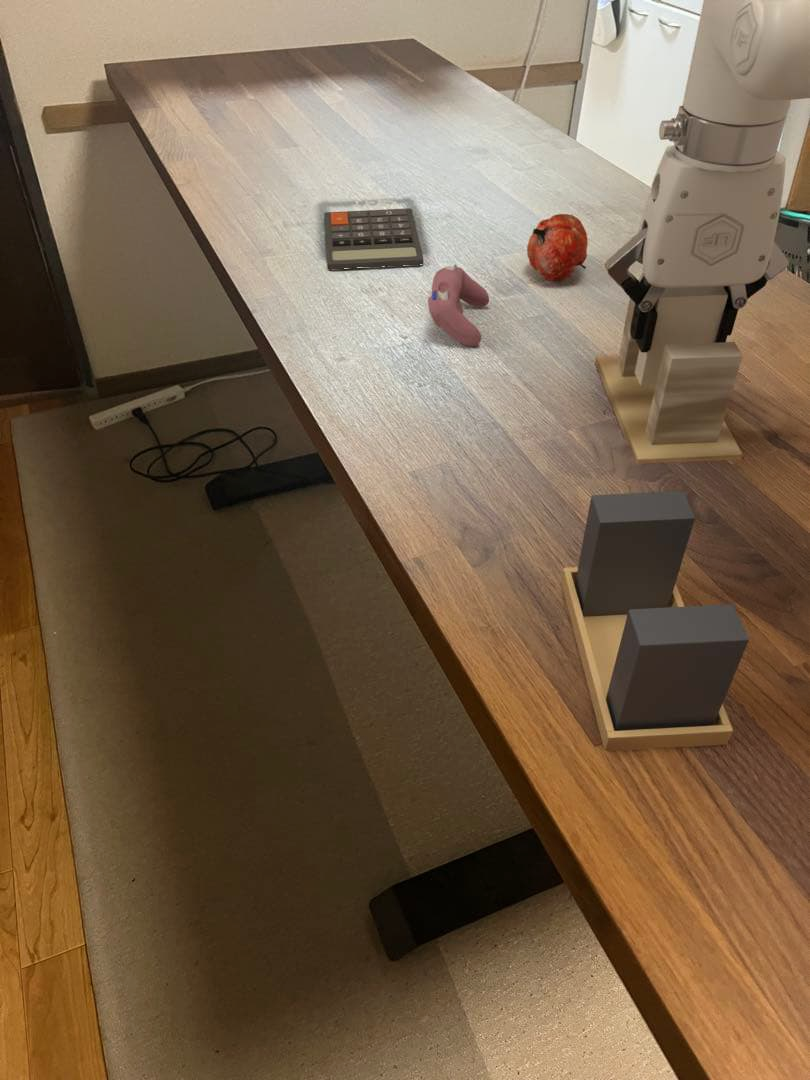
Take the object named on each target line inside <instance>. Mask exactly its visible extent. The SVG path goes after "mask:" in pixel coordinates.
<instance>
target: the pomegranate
mask: <svg viewBox="0 0 810 1080" xmlns="http://www.w3.org/2000/svg"><path fill="white" fill-rule="evenodd" d="M588 243H589V241H588V234H587V231H586V229H585V227H584V224H583V223H582V221H581V220H580V218H578V217H576V216H574V215H573V214H568V213H559V214H554V215H552V216H551V217H550V218H546V219H542V220H540V221H539V222H538V224H537V226H536V227H535V228H533V230H532V233H531V235H530V236H529V239H528V243H527V246H526V254H527V258H528V261H529V264H530V266H531V267H532V268H533V270H535V271H537V272H539V275H540V276H541V277H543V279H545V280H547V281H549V282H559V283H561V282H563V281H565V280H567V279H570V278H571V277H572V276H573V275H574V273H575V271H574V268H575V267H579V266H580V267H581V268H583V269H585V270H586V269H587V266H585V265H584V263H585V261H586V259H587V257H588V254H587V253H588V251H587V250H588Z"/></svg>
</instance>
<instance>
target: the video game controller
mask: <svg viewBox="0 0 810 1080" xmlns="http://www.w3.org/2000/svg"><path fill="white" fill-rule="evenodd" d="M431 285H432V286H431V296H429V297H428V299H427V306H428V311H429V314H430V316H431V319H432V321H433V323H434V324H435V325H436V327H437V328H440V329H441V330H442V331H444V332H445V333H446V334H447V335H448V336H449V337H450V338H452V339H454V340H455V341H456V342H458V343H460V344H462V345H464V346H468V347H476V346H478V345H479V344H480V343H481V341H482V334H481V331H480V330H479V329H478V327H477V326H476V325H475V324H474V323H473V322H471V321H470V320H469V319H468V318H467V317H465V315H464V307H463V304H462V302H464V303H465V304H469V305H470V306H472V307H477V308H485V307H487V306H488V304H489V303H490V296H489V294H488V292H487V290H486V289H485V288H484V287H483V286H482V285H481V284H480V283H478V282H477V281H475V280H474V279H473V278H471V277H470V276H469V274H468V273H467V272H466V271H464V269H463V268H462V267H458V265H457V264H454V265H453V266H450V265H447V266H444V267H443V268H441V269H438V270H437V271H436V273H435V274H434V276H433V279H432V283H431Z"/></svg>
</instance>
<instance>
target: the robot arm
mask: <svg viewBox="0 0 810 1080" xmlns="http://www.w3.org/2000/svg"><path fill="white" fill-rule="evenodd" d="M685 85H686V86H685V89H684V95H683V100H682V105H679V107H678V111H677V114H676V116H675V117H672V118H671V119H670V120H669V119H668V120H661V122H660V124H659V129H658V131H659V132H658V136H659V140H660V141H661V140H662V141H663V140H666V141H667V140H668V141H669V142H673V145H668V146H666V149H665V150H664V152H663V155H662V157H661V160H660V161H659V164H658V167H657V170H656V172H655V175H654V176H653V180H652V183H651V186H650V189H649V192H648V195H647V197H646V202H645V205H644V208H643V213H642V217H641V220H640V224H639V229H638V233H636V234H635V235H634V236H633V237H632V238H631V239H629V240H628V241H627V242H626V243H625V244H624V245H623V246H622V247H621V248H619V249H618V250H617V251H616V252H615V253H613V254H612V256H610V257H609V258H608V259H607V260H606V261H605V262H604V268H605V271H606V272H607V274H608V276H609V277H610V278H611V279H612V280H613V281H614V282H615V283H616V285H618V286H619V287H620V288H621V289H622V290H623V291H624V293H625V294H626V295H627V296H628V298H629V299H630V298H631V299H632V300H633V301H634V302H635V306H634V311H633V316H632V321H631V326H630V335H631V337H632V339H635V340H636V342H637V344H638V347H639V349H640V351H641V352H648V351H650V349H651V344H652V340H653V335H654V331H655V326H656V321H657V317H658V313H657V312H656V310H655V308H654V307H655V304H656V302H657V301H658V299H659V298H660V296H661V294H662V293H663V291H664V290H665V288H681V287H709V286H723V288H724V289H725V291H726V292H727V294H728V298H727V301H726V305H725V308H724V312H723V315H722V319H721V323H720V326H719V330H718V333H717V337H716V341H715V343H720V342H727V339H728V336H731V335H732V333H733V330H734V327H735V322H736V319H737V316H738V312H739V310H740V309H742V308H744V307H745V306H746V305H747V304H748V300H749V299H750V298H751V297H753V296H754V295H755V294H756V293H758V292H759V291H760V290H761V289H764V287H765V286H766V285H767V283H768V281H771V280H773V279H774V278H775V277H777V276H778V275H779V274H781V273H782V272H783V271H784V270H786V269H787V268H788V267H789V266H790V260H789V259H788V257H787V256H786V255H785V254H784V252H783V250H782V249H781V248H780V246H779V245H778V244H777V243H776V241H775V237H776V233H777V230H778V229H777V228H778V224H779V218H780V213H781V212H780V211H781V206H782V200H783V194H784V193H783V192H784V186H785V184H784V183H785V176H786V157H785V155H783V153H781V152H779V151H778V148H779V144H780V142H781V138H782V135H783V132H784V127H785V124H786V120H787V117H788V113H789V110H790V107H791V102H792V101H793V100H803V99H810V0H703V2H702V6H701V11H700V16H699V22H698V26H697V31H696V36H695V41H694V46H693V51H692V55H691V60H690V65H689V71H688V76H687V81H686V84H685ZM636 262H637V263H639V264H641V265H642V273H641V275H640V276H639V278H637V277H636V276H635V275H634V274H633V273H632V272H631V271H630V270H629V269H630V267H631V266H632V265H633V264H635V263H636Z"/></svg>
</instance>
